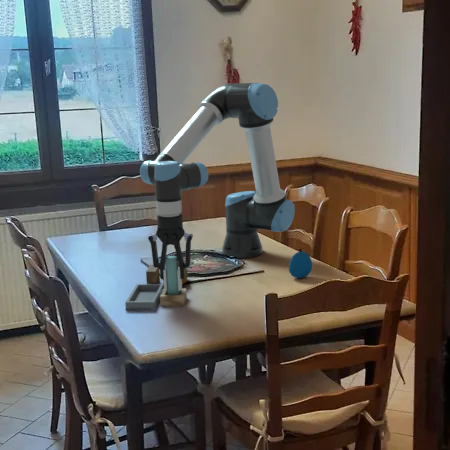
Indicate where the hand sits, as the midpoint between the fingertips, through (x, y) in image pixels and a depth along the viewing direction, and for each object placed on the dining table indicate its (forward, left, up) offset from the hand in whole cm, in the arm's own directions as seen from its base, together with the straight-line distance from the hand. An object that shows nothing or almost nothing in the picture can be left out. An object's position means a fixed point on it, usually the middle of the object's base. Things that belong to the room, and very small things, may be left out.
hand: (173, 288), depth 211 cm
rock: (+2, -17, -4) cm, 18 cm away
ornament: (-39, -23, -4) cm, 45 cm away
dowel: (0, 0, -4) cm, 4 cm away
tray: (+9, -1, -4) cm, 10 cm away
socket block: (0, 0, -4) cm, 4 cm away
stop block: (+9, -15, -4) cm, 18 cm away
